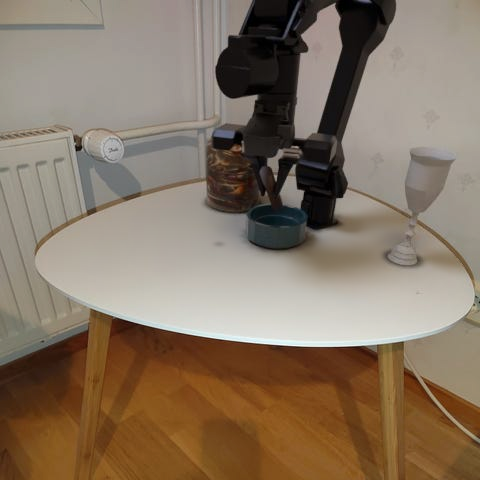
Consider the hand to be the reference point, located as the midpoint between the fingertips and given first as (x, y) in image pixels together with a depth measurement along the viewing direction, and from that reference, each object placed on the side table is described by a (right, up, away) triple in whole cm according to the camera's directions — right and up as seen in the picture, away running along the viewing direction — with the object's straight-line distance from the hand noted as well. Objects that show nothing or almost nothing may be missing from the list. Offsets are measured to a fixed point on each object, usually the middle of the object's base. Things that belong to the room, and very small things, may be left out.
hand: (269, 196), depth 70 cm
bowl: (+2, -5, +11) cm, 12 cm away
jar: (-7, +6, +24) cm, 26 cm away
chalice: (+24, -10, +5) cm, 26 cm away
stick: (+2, 0, +7) cm, 7 cm away
